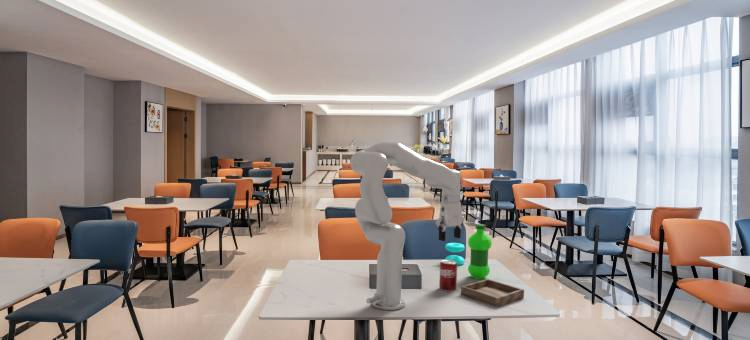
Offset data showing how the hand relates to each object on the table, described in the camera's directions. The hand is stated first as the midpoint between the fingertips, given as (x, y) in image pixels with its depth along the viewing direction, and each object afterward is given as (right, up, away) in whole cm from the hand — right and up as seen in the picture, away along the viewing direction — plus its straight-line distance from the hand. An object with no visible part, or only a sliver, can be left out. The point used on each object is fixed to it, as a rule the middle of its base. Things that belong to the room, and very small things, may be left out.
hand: (449, 239), depth 195 cm
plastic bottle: (+17, -21, +19) cm, 33 cm away
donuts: (+10, -20, +45) cm, 50 cm away
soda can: (-1, -22, +1) cm, 22 cm away
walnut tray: (+16, -23, -7) cm, 29 cm away
